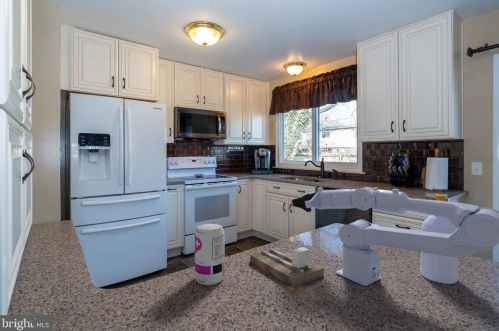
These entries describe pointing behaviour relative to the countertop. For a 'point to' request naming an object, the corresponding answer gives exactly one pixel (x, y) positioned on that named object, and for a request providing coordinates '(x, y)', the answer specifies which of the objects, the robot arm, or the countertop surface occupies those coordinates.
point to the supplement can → (209, 253)
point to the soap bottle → (438, 265)
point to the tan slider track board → (285, 267)
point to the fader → (300, 258)
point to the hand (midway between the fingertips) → (299, 200)
